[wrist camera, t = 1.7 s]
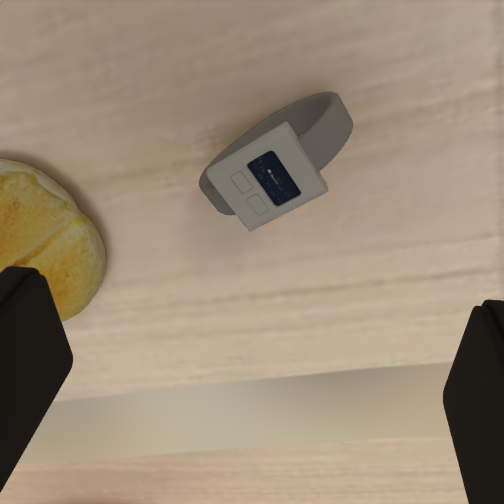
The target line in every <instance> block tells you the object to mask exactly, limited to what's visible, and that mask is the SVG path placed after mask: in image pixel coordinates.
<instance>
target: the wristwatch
mask: <svg viewBox="0 0 504 504" xmlns="http://www.w3.org/2000/svg"><path fill="white" fill-rule="evenodd" d="M352 128H353V121H352V119H351V117H350V115H349V113H348V111H347V110H346V108H345V106H344V104H343V102H342V101H341V99H340V97H339V95H338V94H337V93H334V92H323V93H318V94H315V95H312V96H309V97H306V98H304V99H302V100H299V101H297V102H295V103H293V104H291V105H289V106H287V107H285V108H283V109H281V110H280V111H278V112H276V113H275V114H273V115H271V116H270V117H268V118H266V119H265V120H263V121H262V122H260V123H259V124H257V125H256V126H255V127H253V128H252V129H250V130H249V131H248V132H246V133H245V134H243V135H242V136H241V137H240V138H238V139H237V140H236V141H234V142H233V143H232V144H231V145H229V146H228V147H227V148H226V149H225V150H224V151H222V152H221V153H220V154H219V155H218V156H217V157H216V158H215V159H214V160H213V161H212V162H211V163H210V164H209V165H208V166H207V168H206V169H205V170H204V172H203V173H202V175H201V177H200V180H199V187H200V189H201V190H202V191H203V193H204V194H205V195H206V196H207V198H208V199H209V200H210V201H211V203H212V204H213V205H214V207H215V208H216V209H217V210H218V211H219V212H220V213H222V214H224V215H237V216H238V218H239V219H240V220H241V221H242V223H243V224H244V225H245V227H246V228H247V229H248V230H249V231H252V230H254V229H256V228H258V227H260V226H262V225H264V224H266V223H268V222H269V221H271V220H273V219H275V218H277V217H279V216H281V215H283V214H285V213H287V212H289V211H291V210H293V209H295V208H297V207H299V206H301V205H303V204H305V203H307V202H309V201H311V200H313V199H315V198H317V197H319V196H321V195H323V194H325V193H326V192H328V187H327V184H326V182H325V180H324V179H323V177H322V175H321V174H320V172H319V171H320V170H321V169H322V168H324V167H325V166H326V165H327V164H328V163H329V162H330V161H331V160H332V159H333V158H334V157H335V156H336V155H337V153H338V152H339V151H340V150H341V148H342V147H343V146H344V144H345V143H346V141H347V140H348V138H349V136H350V134H351V132H352ZM305 132H306V133H305ZM303 133H305V134H303ZM301 134H303V135H302V136H301V137H300V138H299V137H298V136H299V135H301Z"/></svg>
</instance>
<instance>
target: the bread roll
mask: <svg viewBox="0 0 504 504" xmlns="http://www.w3.org/2000/svg"><path fill="white" fill-rule="evenodd" d="M8 266H19V267H33V268H36V269H37V270H38V271H39V272H40V274H41V275H44V276H45V277H46V279H47V282H48V285H49V288H50V291H51V294H52V296H53V299H54V302H55V305H56V308H57V311H58V314H59V317H60V320H61V322H62V321H65V320H68V319H70V318H72V317H73V316H75V315H77V314H78V313H80V312H81V311H82V310H83V309H84V308H85V307H86V306H87V305H88V304H89V303H90V301H91V300H92V298H93V297H94V296H95V294H96V292H97V291H98V289H99V286H100V284H101V282H102V280H103V276H104V272H105V267H106V253H105V247H104V244H103V241H102V239H101V237H100V234H99V232H98V230H97V229H96V227H95V226H94V224H93V223H92V221H91V220H90V219H89V218H88V217H86V216H85V215H83V214H82V213H81V212H80V210H79V209H78V207H77V205H76V203H75V201H74V199H73V198H72V197H71V195H70V194H69V193H68V192H67V191H66V190H65V189H64V188H63V187H61V186H60V185H59V184H57V183H56V182H55V181H53V180H52V179H51V178H50V177H49V176H47V175H46V174H44V173H42V172H41V171H39V170H37V169H35V168H33V167H31V166H28V165H26V164H23V163H20V162H15V161H11V160H6V159H1V158H0V273H1V272H2V271H3V270H4V269H5V268H6V267H8Z"/></svg>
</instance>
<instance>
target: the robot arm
mask: <svg viewBox="0 0 504 504" xmlns="http://www.w3.org/2000/svg"><path fill="white" fill-rule="evenodd" d="M72 364H73V354H72V351H71V348H70V346H69V343H68V340H67V337H66V334H65V331H64V328H63V325H62V322H61V320H60V317H59V314H58V311H57V308H56V305H55V302H54V299H53V296H52V294H51V291H50V288H49V285H48V282H47V279H46V277H45V276H44V275H41V274H40V272H39V271H38V270H37V269H36V268H33V267H19V266H8V267H6V268H5V269H4V270H3V271H2V272H1V273H0V492H1V491H2V489H3V487H4V485H5V484H6V482H7V480H8V478H9V477H10V475H11V473H12V471H13V470H14V468H15V466H16V464H17V463H18V461H19V459H20V457H21V456H22V454H23V452H24V450H25V449H26V447H27V445H28V443H29V442H30V440H31V438H32V437H33V435H34V433H35V431H36V430H37V428H38V426H39V424H40V423H41V421H42V419H43V417H44V416H45V414H46V412H47V410H48V408H49V407H50V405H51V403H52V402H53V400H54V398H55V396H56V395H57V393H58V391H59V389H60V388H61V386H62V384H63V382H64V381H65V379H66V377H67V375H68V374H69V372H70V370H71V368H72ZM443 404H444V409H445V413H446V417H447V420H448V425H449V428H450V432H451V436H452V440H453V444H454V448H455V452H456V456H457V459H458V463H459V467H460V471H461V475H462V479H463V483H464V487H465V491H466V494H467V498H468V502H469V504H504V301H501V300H485V301H484V302H483V304H482V306H475V307H474V308H473V310H472V312H471V315H470V318H469V320H468V323H467V326H466V329H465V332H464V334H463V337H462V340H461V343H460V345H459V348H458V351H457V354H456V357H455V359H454V362H453V365H452V368H451V371H450V373H449V376H448V379H447V382H446V385H445V387H444V391H443Z"/></svg>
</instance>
